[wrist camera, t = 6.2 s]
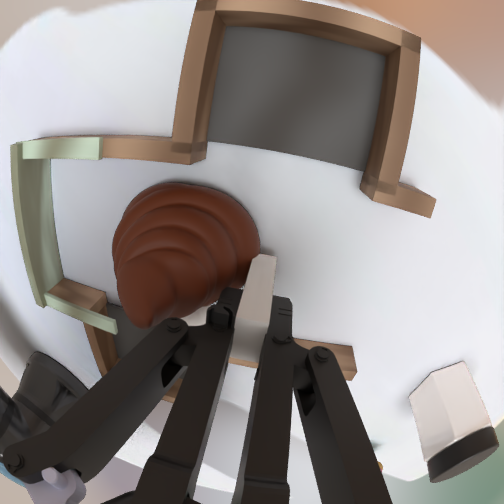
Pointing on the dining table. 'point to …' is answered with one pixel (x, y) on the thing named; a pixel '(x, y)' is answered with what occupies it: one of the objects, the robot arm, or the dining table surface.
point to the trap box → (244, 132)
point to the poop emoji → (180, 252)
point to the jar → (452, 422)
